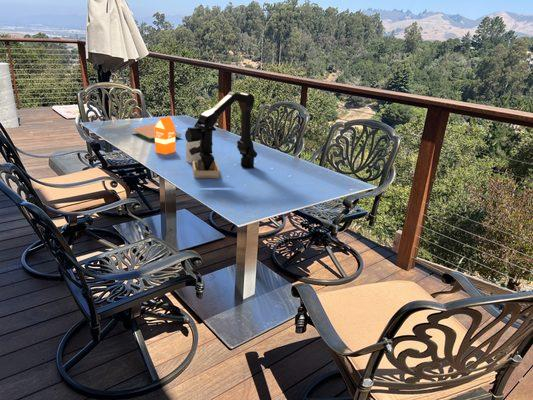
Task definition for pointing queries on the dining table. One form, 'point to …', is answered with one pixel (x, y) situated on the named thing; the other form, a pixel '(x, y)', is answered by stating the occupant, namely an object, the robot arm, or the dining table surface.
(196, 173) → the carton
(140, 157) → the dining table surface
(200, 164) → the walnut box
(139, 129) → the brown green flat box
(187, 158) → the mug
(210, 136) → the robot arm
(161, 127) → the orange juice
